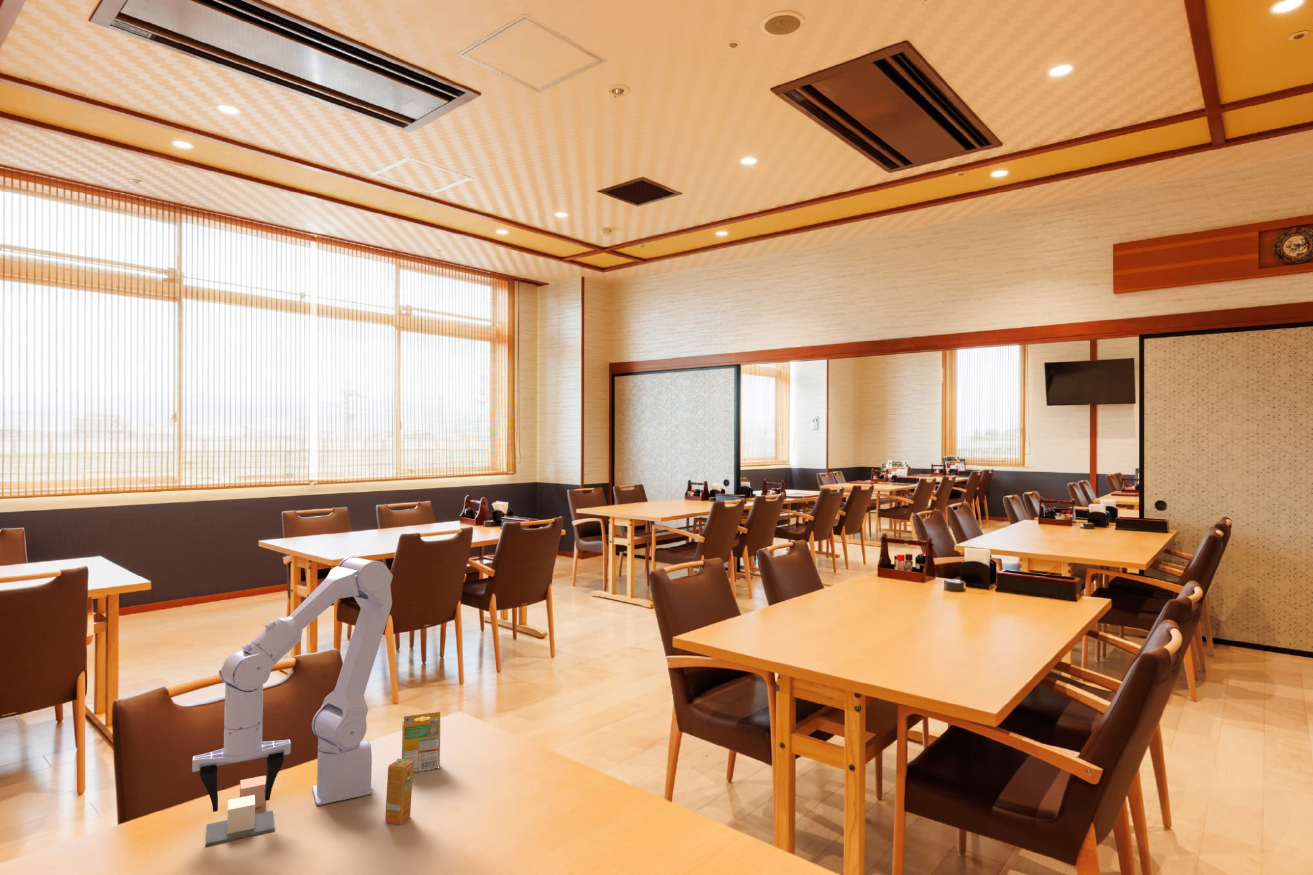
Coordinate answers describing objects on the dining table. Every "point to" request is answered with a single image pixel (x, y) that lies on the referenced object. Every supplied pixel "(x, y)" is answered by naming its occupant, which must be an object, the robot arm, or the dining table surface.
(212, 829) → the build mat
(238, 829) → the cream block
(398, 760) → the supplement box
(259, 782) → the terracotta block
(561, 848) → the dining table surface
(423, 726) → the crayon box
